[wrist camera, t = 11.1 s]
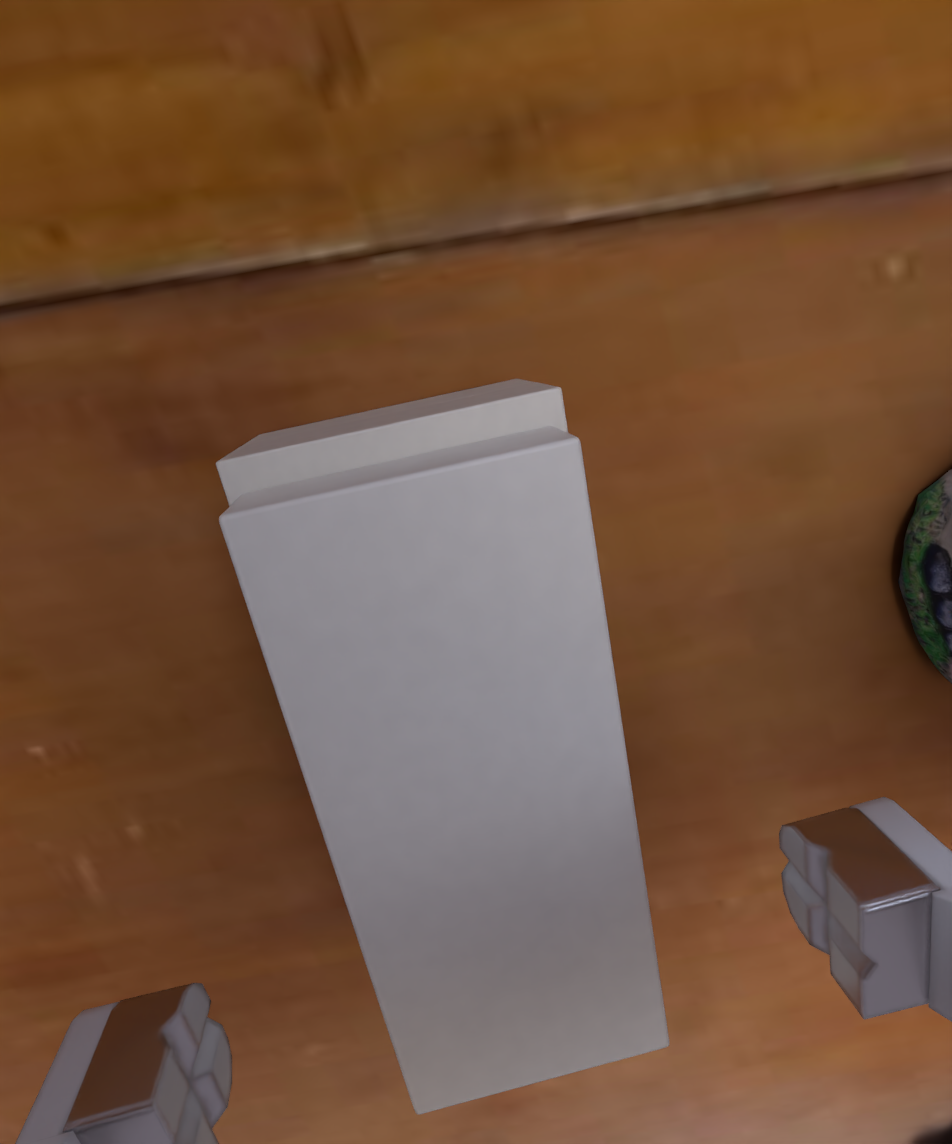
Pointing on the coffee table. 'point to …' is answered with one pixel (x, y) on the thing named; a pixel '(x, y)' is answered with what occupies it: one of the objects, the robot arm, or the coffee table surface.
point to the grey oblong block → (390, 434)
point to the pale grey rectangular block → (464, 753)
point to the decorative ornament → (931, 572)
